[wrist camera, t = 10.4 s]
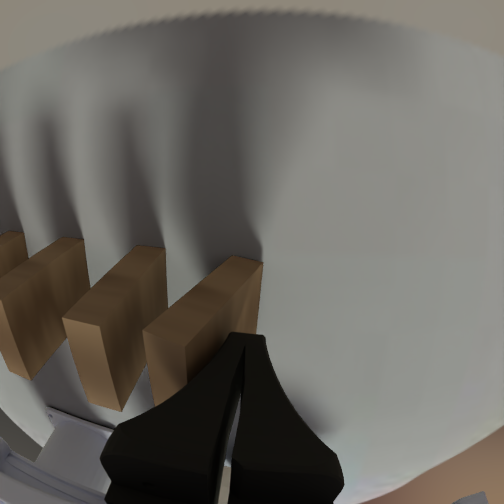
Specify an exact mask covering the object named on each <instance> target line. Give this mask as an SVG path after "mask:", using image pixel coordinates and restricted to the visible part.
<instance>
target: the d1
mask: <svg viewBox="0 0 504 504" xmlns="http://www.w3.org/2000/svg"><path fill="white" fill-rule="evenodd" d="M262 271H263V262H259V261H255V260H251V259H246V258H242V257H237V256H233V255H232V256H231V257H230V258H228V259H227V260H226V261H225V262H224V263H222V264H221V265H220V266H219V267H218V268H216V269H215V270H214V271H213V272H211V273H210V274H209V275H208V276H207V277H205V278H204V279H203V280H202V281H201V282H199V283H198V284H197V285H196V286H195V287H193V288H192V289H191V290H190V291H189V292H187V293H186V294H185V295H184V296H183V297H181V298H180V299H179V300H178V301H177V302H175V303H174V304H173V305H172V306H171V307H169V308H168V309H167V310H166V311H165V312H163V313H162V314H161V315H160V316H159V317H157V318H156V319H155V320H154V321H153V322H151V323H150V324H149V325H148V326H147V327H145V328H144V329H143V330H142V331H143V339H144V346H145V353H146V359H147V365H148V372H149V377H150V383H151V389H152V394H153V399H154V404H155V406H157V405H159V404H161V403H162V402H164V401H165V400H167V399H168V398H170V397H171V396H172V395H174V394H175V393H176V392H178V391H179V390H180V389H182V388H183V387H184V386H185V385H186V384H188V383H189V382H190V381H191V380H192V379H193V378H194V377H195V376H196V375H197V374H198V373H199V372H200V371H201V370H202V369H203V368H204V367H205V366H206V365H207V364H208V363H209V361H210V360H211V359H212V358H213V356H214V355H215V354H216V353H217V351H218V350H219V349H220V347H221V346H222V344H223V343H224V341H225V340H226V338H227V336H228V334H229V333H230V332H232V331H233V332H241V333H250V334H256V329H257V320H258V310H259V301H260V291H261V281H262Z"/></svg>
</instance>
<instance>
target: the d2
mask: <svg viewBox="0 0 504 504" xmlns="http://www.w3.org/2000/svg"><path fill="white" fill-rule="evenodd" d="M167 309H168V298H167V278H166V248H159V247H149V246H140V245H137V246H135V247H134V248H133V249H132V250H131V251H130V252H129V253H128V254H127V255H126V256H124V257H123V258H122V259H121V260H120V261H119V262H118V263H117V264H116V265H115V266H114V267H113V268H112V269H111V270H109V271H108V272H107V273H106V274H105V275H104V276H103V277H102V278H101V279H100V280H99V281H98V282H97V283H96V284H95V285H94V286H93V287H92V288H91V289H90V290H89V291H88V292H87V293H86V294H85V295H84V296H83V297H82V298H81V299H80V300H79V301H78V302H77V303H76V304H75V305H74V306H73V307H72V308H71V309H70V310H69V311H68V312H67V313H66V314H65V315H64V316H63V317H62V320H63V324H64V327H65V331H66V335H67V338H68V342H69V345H70V349H71V352H72V355H73V359H74V362H75V365H76V368H77V371H78V374H79V377H80V380H81V383H82V385H83V388H84V391H85V394H86V396H87V399H88V402H90V403H93V404H96V405H99V406H103V407H106V408H109V409H113V410H116V411H120V412H122V410H123V408H124V406H125V404H126V402H127V400H128V398H129V396H130V394H131V392H132V390H133V388H134V386H135V384H136V382H137V381H138V379H139V377H140V375H141V373H142V371H143V369H144V367H145V365H146V363H147V359H146V353H145V346H144V339H143V331H142V330H143V329H144V328H145V327H147V326H148V325H149V324H150V323H151V322H153V321H154V320H155V319H156V318H157V317H159V316H160V315H161V314H162V313H163V312H165V311H166V310H167Z"/></svg>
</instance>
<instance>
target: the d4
mask: <svg viewBox="0 0 504 504" xmlns="http://www.w3.org/2000/svg"><path fill="white" fill-rule="evenodd" d="M27 259H28V253H27V248H26V242H25V236H24V233H23V232H14V231H8V232H6V233H4V234H2V235H0V278H1V277H3V276H4V275H6V274H7V273H8V272H10V271H11V270H13V269H14V268H16V267H17V266H19V265H20V264H21V263H23V262H24V261H26V260H27Z"/></svg>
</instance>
